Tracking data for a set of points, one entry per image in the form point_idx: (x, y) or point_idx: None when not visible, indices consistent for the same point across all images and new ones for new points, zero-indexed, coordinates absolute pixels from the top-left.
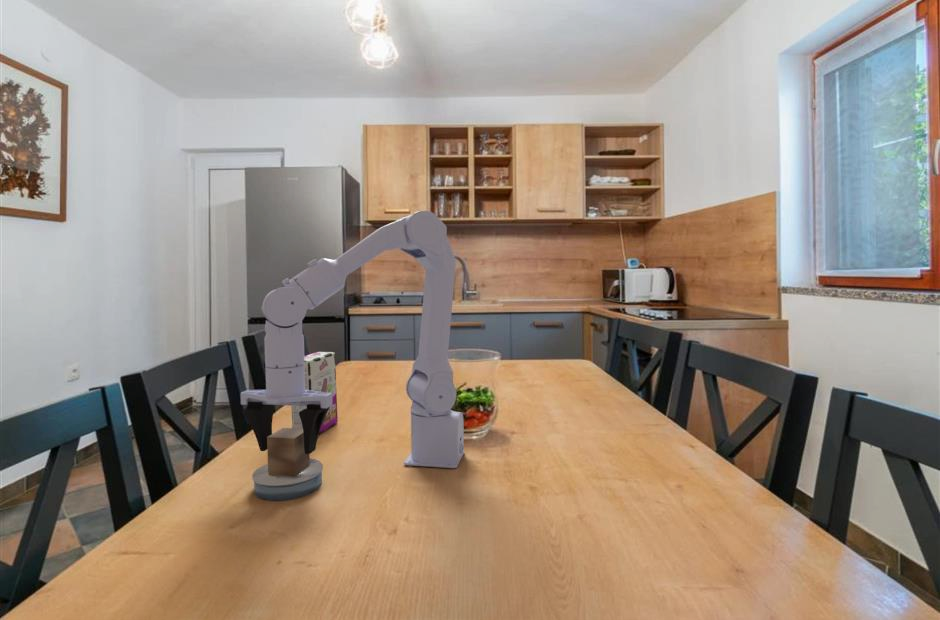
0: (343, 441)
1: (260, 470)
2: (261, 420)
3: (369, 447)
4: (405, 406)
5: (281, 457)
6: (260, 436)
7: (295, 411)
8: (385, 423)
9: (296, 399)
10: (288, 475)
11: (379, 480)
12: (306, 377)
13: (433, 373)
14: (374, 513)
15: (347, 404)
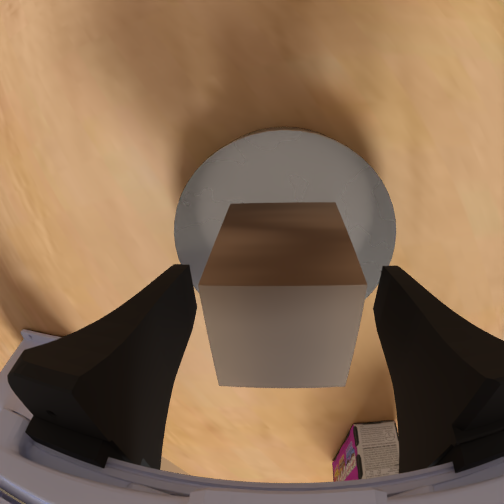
0: (283, 423)
1: (379, 230)
2: (433, 370)
3: (213, 407)
4: None
5: (281, 232)
6: (411, 298)
7: (395, 467)
8: (246, 465)
9: (88, 499)
10: (256, 203)
11: (89, 281)
12: None
13: None
14: (19, 144)
15: None
